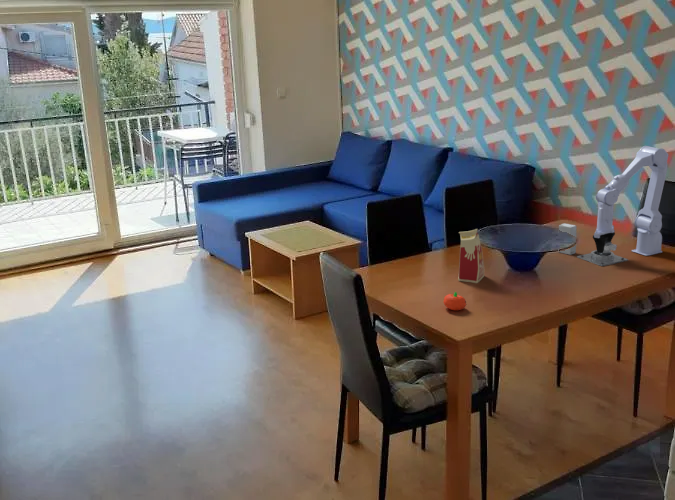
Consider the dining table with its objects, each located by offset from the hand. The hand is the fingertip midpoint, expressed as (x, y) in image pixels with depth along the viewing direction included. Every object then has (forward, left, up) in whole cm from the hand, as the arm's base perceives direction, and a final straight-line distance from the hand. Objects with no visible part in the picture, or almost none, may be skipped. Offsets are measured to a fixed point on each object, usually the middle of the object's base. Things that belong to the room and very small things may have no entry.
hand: (602, 250), depth 290 cm
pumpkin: (+82, +14, -4) cm, 83 cm away
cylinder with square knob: (0, 0, -2) cm, 2 cm away
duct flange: (0, 0, -3) cm, 3 cm away
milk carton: (+59, -9, -4) cm, 60 cm away
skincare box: (+6, -14, -4) cm, 16 cm away
